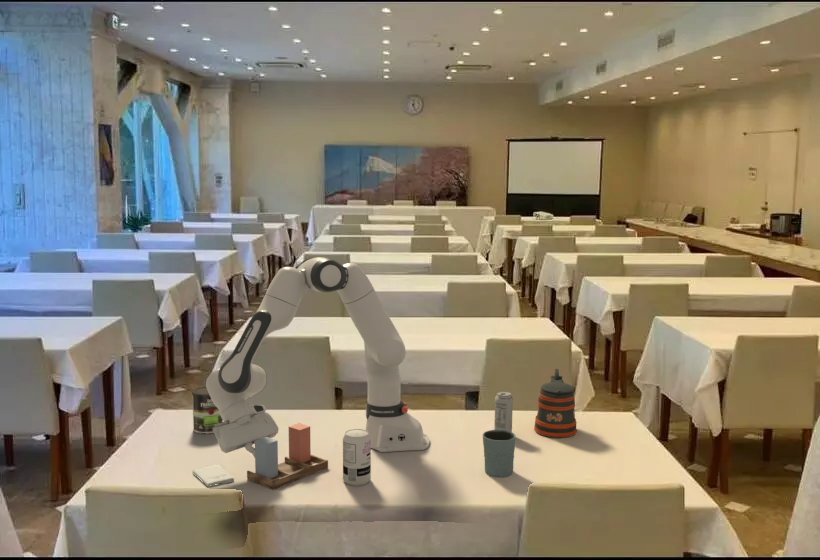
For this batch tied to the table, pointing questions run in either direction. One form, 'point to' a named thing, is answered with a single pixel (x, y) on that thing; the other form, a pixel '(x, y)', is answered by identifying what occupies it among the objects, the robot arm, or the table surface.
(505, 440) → the teal cup
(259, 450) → the blue-grey rectangular block
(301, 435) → the brick key
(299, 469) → the wooden compartment tray
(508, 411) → the energy drink can
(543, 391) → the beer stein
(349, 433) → the supplement can
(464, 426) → the table surface
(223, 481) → the external hard drive
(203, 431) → the coffee can
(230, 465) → the table surface
